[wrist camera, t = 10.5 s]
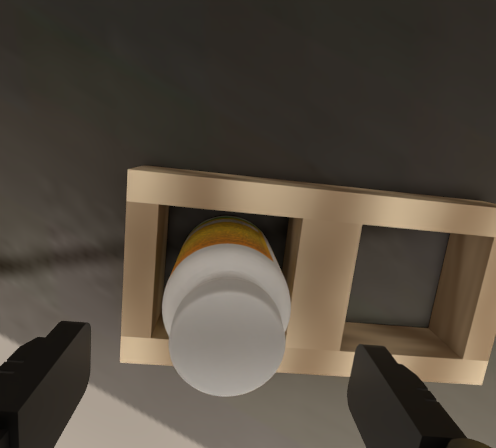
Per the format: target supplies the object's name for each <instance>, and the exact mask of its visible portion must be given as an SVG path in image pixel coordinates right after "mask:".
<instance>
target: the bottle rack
mask: <svg viewBox="0 0 496 448" xmlns="http://www.w3.org/2000/svg"><path fill="white" fill-rule="evenodd" d="M169 205H170V206H180V207H190V208H201V209H211V210H221V211H231V212H242V213H252V214H262V215H272V216H283V217H289V223H288V231H287V238H286V245H285V253H284V260H283V267H282V273H283V276H284V278H285V280H286V283H287V286H288V290H289V294H290V300H291V313H290V319H289V323H288V326H287V329H286V331H285V340H286V343H285V352H284V355H283V359H282V361H281V364H280V365H279V367H278V369H277V371H276V372H280V373H297V374H313V375H329V376H345V377H350V374H351V369H352V364H353V359H354V355H355V350H356V347H357V346H358V345H359V344H366V345H379V346H385V347H386V348H387V350H388V351H389V352H390V353H391V355H392V356H393V357H394V359H395V360H396V361H397V363H398V364H403V365H404V366H405V367H407V368H408V369H409V370H411V371H412V372H413V373H415V374H416V375H417V376H418V377H419V378H420V379H421V381H425V382H442V383H458V384H474V385H482V382H483V379H484V375H485V371H486V368H487V364H488V361H489V357H490V353H491V350H492V346H493V342H494V339H495V335H496V204H493V203H489V202H484V201H477V200H468V199H459V198H449V197H440V196H430V195H421V194H411V193H402V192H392V191H383V190H374V189H364V188H355V187H345V186H336V185H326V184H317V183H307V182H298V181H289V180H279V179H270V178H260V177H251V176H241V175H232V174H222V173H213V172H204V171H194V170H185V169H175V168H166V167H156V166H147V165H143V166H139V167H135V168H131V169H128V175H127V200H126V225H125V249H124V274H123V298H122V323H121V347H120V363H135V364H152V365H168V366H173V363H172V361H171V358H170V353H169V336H168V333H167V331H166V329H165V325H164V322H163V316H162V301H163V292H164V277H165V261H166V246H167V231H168V216H169ZM362 224H364V225H375V226H385V227H395V228H405V229H416V230H426V231H436V232H446V233H450V236H449V241H448V245H447V249H446V254H445V258H444V262H443V267H442V271H441V275H440V280H439V284H438V288H437V293H436V297H435V301H434V305H433V310H432V314H431V318H430V323H429V327H428V328H419V327H406V326H392V325H379V324H365V323H352V322H345V319H346V313H347V307H348V302H349V296H350V291H351V285H352V280H353V274H354V268H355V263H356V257H357V252H358V246H359V240H360V235H361V229H362Z"/></svg>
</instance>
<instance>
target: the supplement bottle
mask: <svg viewBox="0 0 496 448" xmlns="http://www.w3.org/2000/svg"><path fill="white" fill-rule="evenodd" d="M290 313H291V300H290V294H289V290H288V286H287V283H286V280H285V278H284V276H283V273H282V271H281V269H280V267H279V264H278V262H277V260H276V257H275V255H274V253H273V251H272V248H271V246H270V244H269V242H268V240H267V238H266V237H265V235H264V234H263V233H262V231H261V230H260V229H259V228H258V227H256V226H255V225H254V224H252V223H251V222H249V221H247V220H245V219H242V218H239V217H235V216H218V217H214V218H211V219H208V220H206V221H204V222H202V223H200V224H199V225H198V226H196V227H195V228H194V229H193V230H192V231H191V232H190V234H189V235H188V237H187V238H186V240H185V242H184V244H183V246H182V248H181V251H180V253H179V256H178V258H177V261H176V263H175V265H174V268H173V270H172V272H171V275H170V277H169V279H168V282H167V284H166V287H165V291H164V295H163V301H162V316H163V322H164V325H165V329H166V331H167V333H168V336H169V353H170V358H171V361H172V363H173V366H174V367H175V369H176V371H177V373H178V374H179V375H180V376H181V378H182V379H183V380H185V381H186V382H187V383H188V384H189V385H191V386H192V387H194V388H195V389H197V390H199V391H201V392H204V393H207V394H210V395H214V396H237V395H242V394H245V393H248V392H251V391H253V390H255V389H257V388H259V387H260V386H262V385H263V384H264V383H266V382H267V381H268V380H269V379H270V378H271V377H272V376H273V375H274V373H275V372H276V371H277V369H278V367H279V365H280V364H281V361H282V359H283V355H284V352H285V343H286V340H285V331H286V329H287V326H288V323H289V319H290Z"/></svg>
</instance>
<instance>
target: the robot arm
mask: <svg viewBox="0 0 496 448" xmlns="http://www.w3.org/2000/svg"><path fill="white" fill-rule="evenodd" d="M90 357H91V327H90V324H89V323H84V322H71V321H61V322H59V323H58V324H57V326H56V327H55V328H54V329H53V330H52V331H51V332H50V333H49V334H48V335H47V336H46V338H44V337H37V338H35V339H33V340H31V341H30V342H28V343H26V344H24V345H22V346H20V347H19V348H18V349H17V350H16V351H15V352H14V353H13V354H12V355H11V356H10V357H9V358H8V359H7V362H4V363H3V364H2V365H1V366H0V448H54V446H55V445H56V443H57V441H58V439H59V437H60V436H61V434H62V432H63V430H64V428H65V427H66V425H67V423H68V421H69V420H70V418H71V416H72V414H73V413H74V411H75V409H76V407H77V405H78V404H79V402H80V400H81V398H82V396H83V395H84V393H85V391H86V388H87V385H88V381H89V376H90ZM347 399H348V406H349V409H350V412H351V414H352V416H353V419H354V421H355V423H356V425H357V428H358V430H359V432H360V434H361V437H362V439H363V441H364V443H365V446H366V448H491V447H489V446H487V445H485V444H483V443H481V442H478V441H475V440H472V439H468V438H467V437H466V436H465V435H464V433H463V432H462V431H461V430H460V428H459V427H458V426H457V425H456V423H455V422H454V421H453V420H452V418H451V417H450V416H449V415H448V413H447V412H446V411H445V410H444V408H443V407H442V406H441V405H440V403H439V402H437V401H436V398H435V397H434V396H433V394H432V393H431V392H430V391H428V388H427V387H426V386H425V384H424V383H423V382H422V381H421V379H420V378H419V377H418V376H417V375H416V374H415V373H413V372H412V371H411V370H409V369H408V368H407V367H405V366H404V365H403V364H398V363H397V361H396V360H395V359H394V357H393V356H392V355H391V353H390V352H389V351H388V350H387V348H386V347H385V346H379V345H366V344H359V345H358V346H357V347H356V350H355V355H354V359H353V364H352V369H351V374H350V379H349V384H348V390H347Z"/></svg>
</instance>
